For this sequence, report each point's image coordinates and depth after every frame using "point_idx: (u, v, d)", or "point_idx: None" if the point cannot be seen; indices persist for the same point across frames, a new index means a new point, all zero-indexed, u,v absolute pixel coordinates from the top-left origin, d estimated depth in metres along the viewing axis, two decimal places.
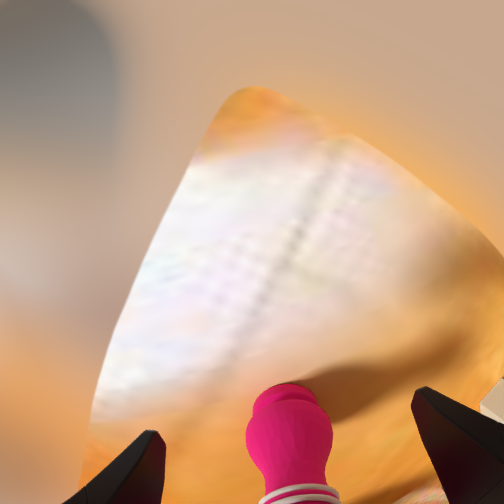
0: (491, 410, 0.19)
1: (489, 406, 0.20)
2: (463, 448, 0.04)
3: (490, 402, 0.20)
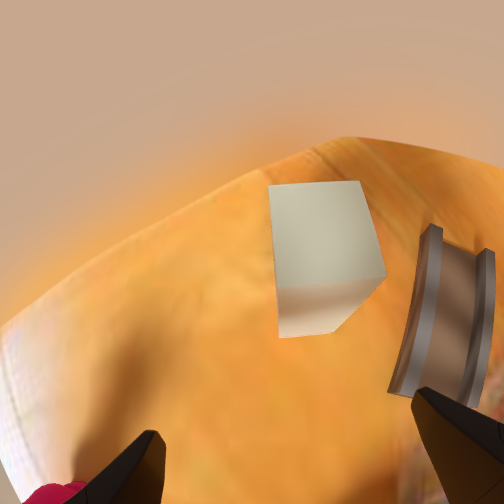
0: None
1: None
2: (463, 448, 0.04)
3: None
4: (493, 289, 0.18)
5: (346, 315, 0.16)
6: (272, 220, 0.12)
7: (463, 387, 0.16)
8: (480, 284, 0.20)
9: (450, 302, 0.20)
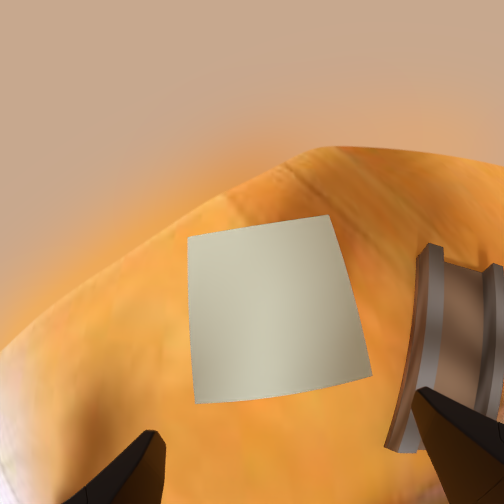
0: None
1: None
2: (463, 448, 0.04)
3: None
4: None
5: None
6: (190, 295, 0.08)
7: None
8: (489, 307, 0.16)
9: (456, 334, 0.16)
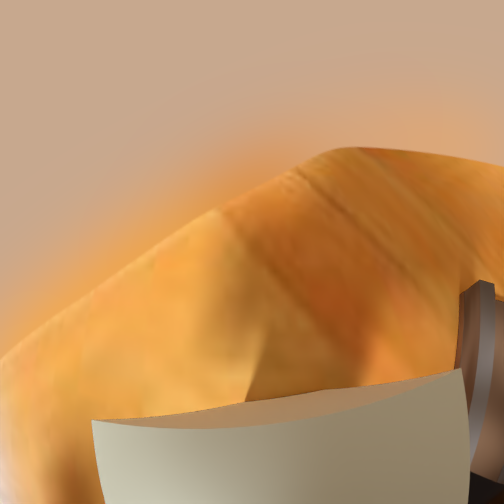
0: None
1: None
2: None
3: None
4: None
5: None
6: None
7: None
8: None
9: (497, 386, 0.10)
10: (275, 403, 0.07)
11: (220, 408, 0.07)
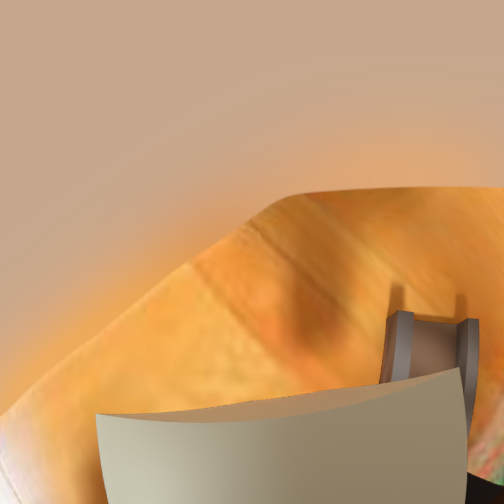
0: None
1: None
2: None
3: None
4: (475, 367, 0.15)
5: None
6: None
7: None
8: (461, 362, 0.17)
9: None
10: (278, 402, 0.07)
11: (224, 406, 0.08)
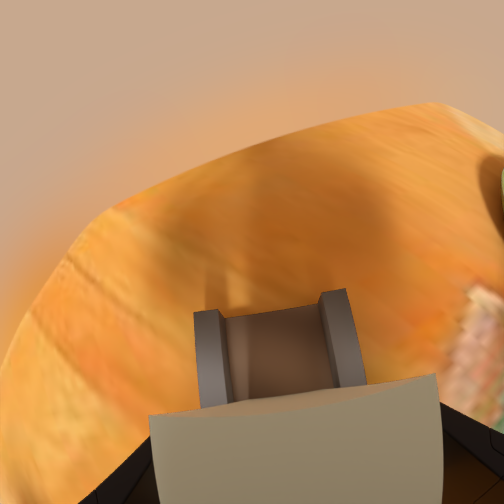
0: None
1: None
2: (453, 454, 0.04)
3: None
4: (357, 362, 0.13)
5: None
6: None
7: None
8: (331, 359, 0.14)
9: None
10: (283, 399, 0.08)
11: (233, 404, 0.08)
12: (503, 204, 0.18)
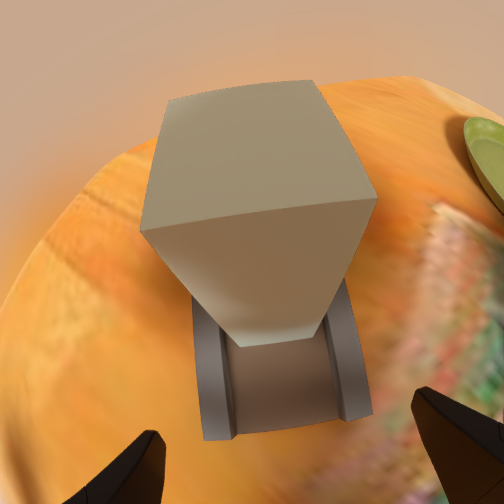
0: (231, 336, 0.14)
1: None
2: (463, 448, 0.04)
3: None
4: None
5: (322, 307, 0.10)
6: (161, 135, 0.06)
7: (336, 391, 0.14)
8: None
9: None
10: None
11: None
12: None
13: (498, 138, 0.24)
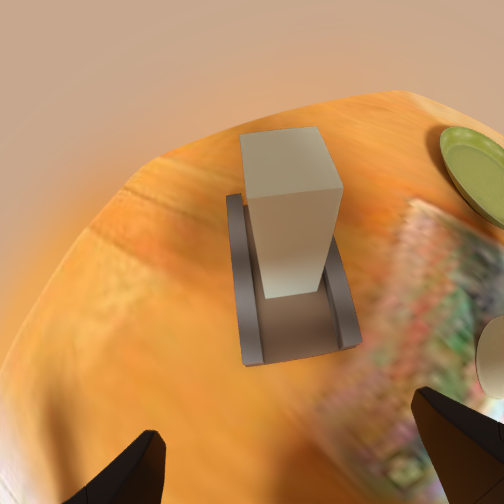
0: None
1: None
2: (463, 448, 0.04)
3: None
4: None
5: (323, 255, 0.17)
6: (242, 155, 0.14)
7: (335, 328, 0.21)
8: None
9: None
10: None
11: None
12: None
13: (475, 144, 0.31)
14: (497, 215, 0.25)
